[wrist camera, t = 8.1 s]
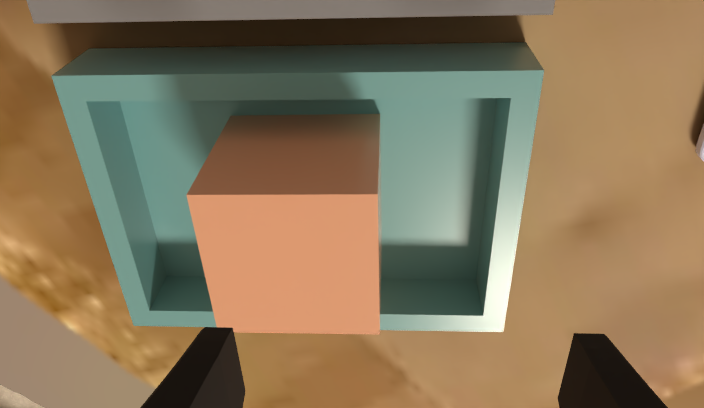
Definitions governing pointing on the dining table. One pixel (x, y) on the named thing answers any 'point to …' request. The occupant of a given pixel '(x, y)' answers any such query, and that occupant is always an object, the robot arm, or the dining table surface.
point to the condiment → (15, 399)
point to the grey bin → (271, 9)
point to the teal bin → (315, 99)
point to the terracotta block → (292, 223)
